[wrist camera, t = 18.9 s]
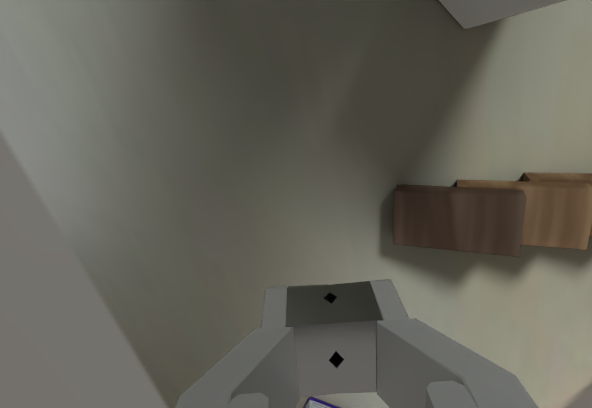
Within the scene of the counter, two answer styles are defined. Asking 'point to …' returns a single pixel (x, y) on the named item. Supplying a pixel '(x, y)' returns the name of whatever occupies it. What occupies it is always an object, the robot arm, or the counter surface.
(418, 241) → the tile
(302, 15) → the counter surface
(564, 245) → the tile
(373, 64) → the counter surface
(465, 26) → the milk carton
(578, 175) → the tile
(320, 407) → the supplement box
